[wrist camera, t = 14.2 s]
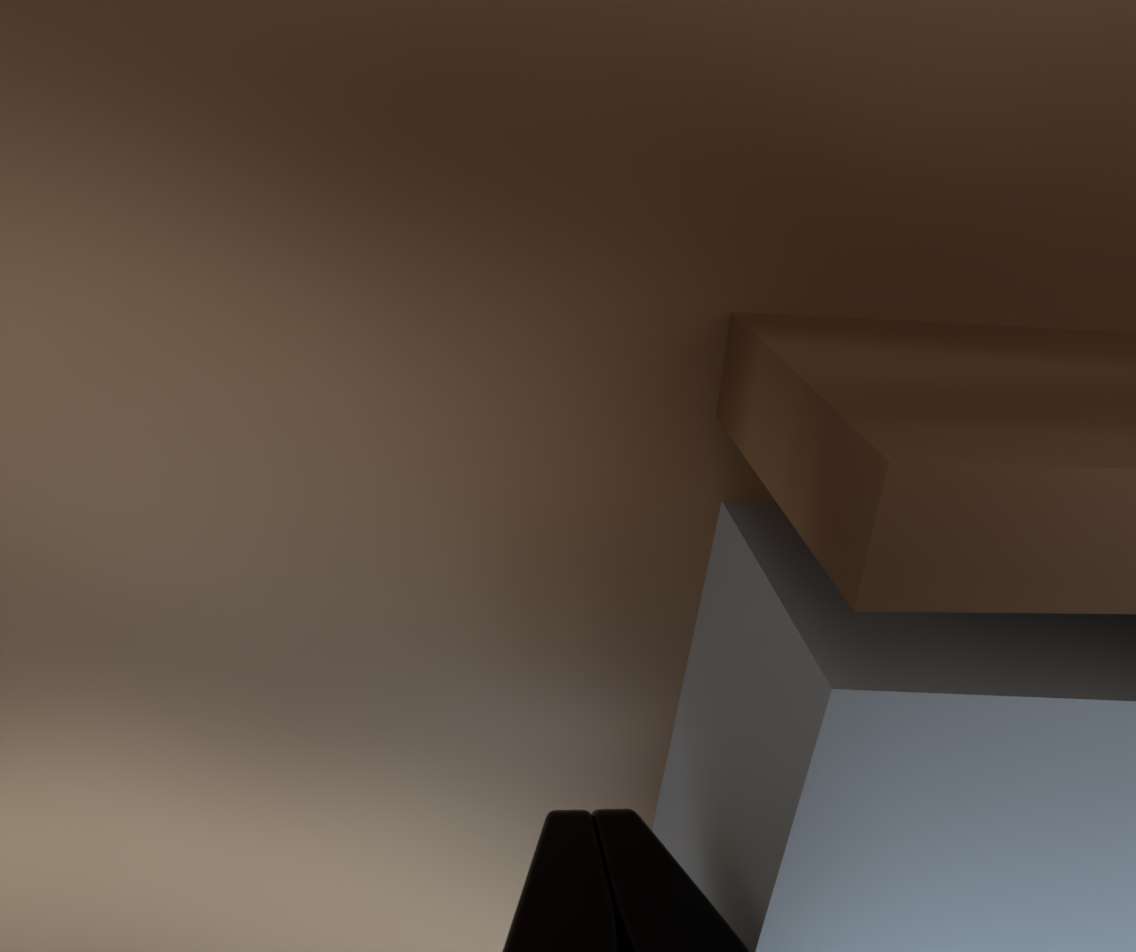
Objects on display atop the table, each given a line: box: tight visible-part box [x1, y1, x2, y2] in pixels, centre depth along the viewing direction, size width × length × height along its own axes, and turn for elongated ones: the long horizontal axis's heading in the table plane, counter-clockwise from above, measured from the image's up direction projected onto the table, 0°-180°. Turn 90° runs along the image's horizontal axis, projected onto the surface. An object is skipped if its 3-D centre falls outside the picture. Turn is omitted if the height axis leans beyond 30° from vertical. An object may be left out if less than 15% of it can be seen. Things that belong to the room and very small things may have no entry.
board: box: [0, 0, 1136, 952], centre depth 9 cm, size 16×23×5 cm
